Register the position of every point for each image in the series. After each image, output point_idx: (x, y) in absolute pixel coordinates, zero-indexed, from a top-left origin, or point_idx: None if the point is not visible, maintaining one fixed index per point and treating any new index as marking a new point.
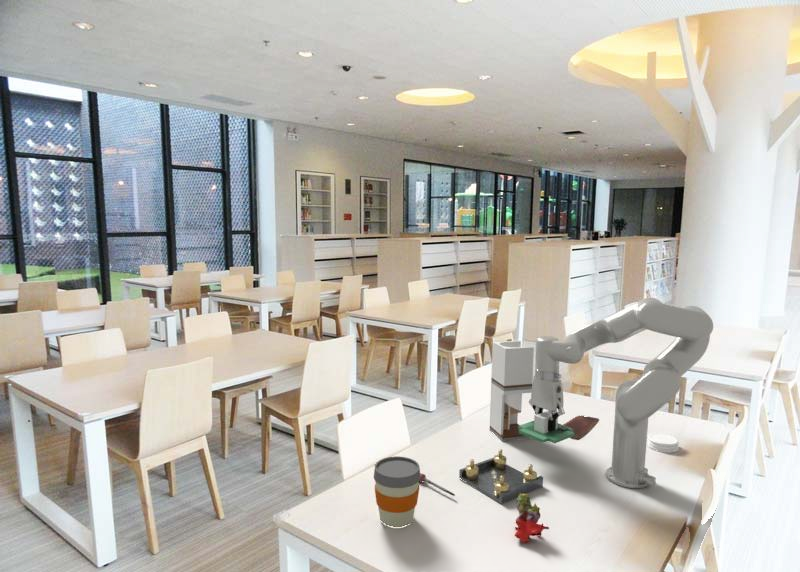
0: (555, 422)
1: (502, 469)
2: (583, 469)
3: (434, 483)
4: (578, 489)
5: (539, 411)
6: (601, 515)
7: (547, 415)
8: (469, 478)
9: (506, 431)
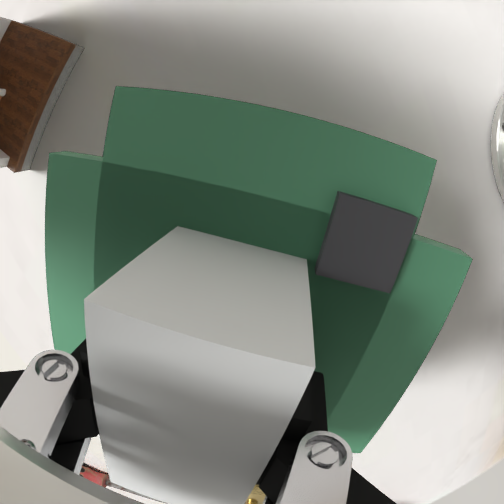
0: (323, 416)
1: None
2: None
3: (134, 493)
4: None
5: (69, 426)
6: (482, 403)
7: (203, 464)
8: None
9: (5, 117)
